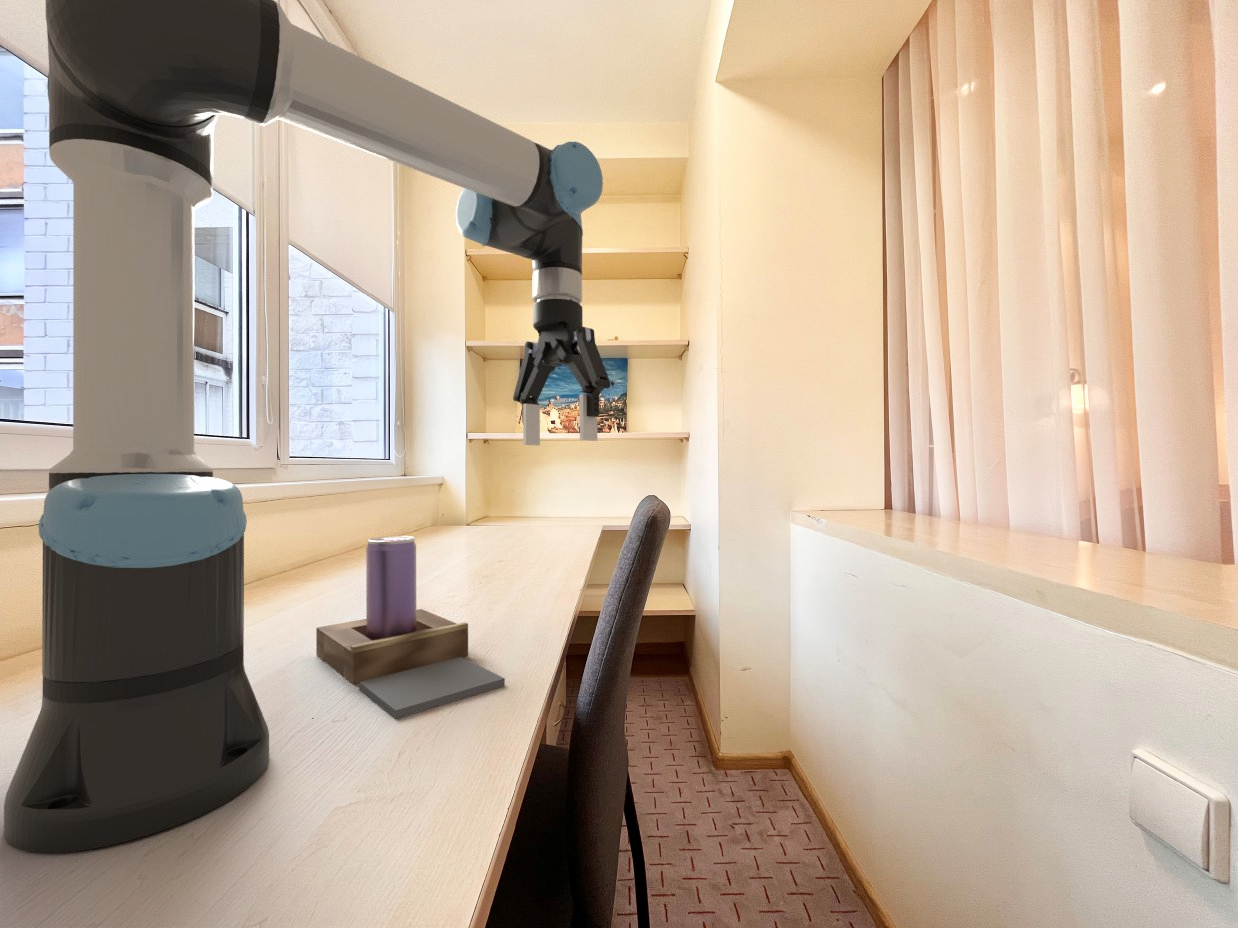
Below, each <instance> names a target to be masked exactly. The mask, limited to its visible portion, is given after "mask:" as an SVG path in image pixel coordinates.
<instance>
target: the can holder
mask: <svg viewBox="0 0 1238 928" xmlns="http://www.w3.org/2000/svg"><path fill="white" fill-rule="evenodd" d="M315 628H316V629H315V630H316V632H315V633H316V636H315V637H316V639H315V640H316V643H315V645H316V656H317V657H319V658H320V659H321V660H322V661H324V662H325V663H326V665H329V666H330V667H331V668H332V669H333V670H334V671H336V672H337V673H338V674H339V675H341V676H342V677H344V678H345V679H346V680H347V681H348V682H349V683H351V684H352V685H357V684H359V682H362V681H366V680H370V679H374V678H378V677H382V676H386V675H390V674H394V673H398V672H402V671H406V670H410V669H414V668H418V667H422V666H426V665H430V664H434V663H438V662H442V661H446V660H450V659H454V658H458V657H463V658H464V657H468V656H469V623H468V622H461V623H460V622H459V623H456V622H454V621H451V620H449V619H446V618H444V617H442V616H439V615H437V614H434V613H432V612H429V611H427V610H425V609H422V608H419V609H416V632H412V633H407V634H402V635H397V636H392V637H387V638H382V639H377V640H373V641H372V640H370V639H369V638H367V627H366V618H363V619H358V620H357V619H356V620H353V621H345V622H340V623H336V624H329V625H324V626H319V627H315Z"/></svg>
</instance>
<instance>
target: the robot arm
mask: <svg viewBox="0 0 1238 928" xmlns="http://www.w3.org/2000/svg"><path fill="white" fill-rule="evenodd" d="M45 21H46V31H47V32H46V35H47V36H46V37H47V50H48V53H47V55H48V75H47V83H46V85H47V87H46V88H47V99H48V124H49V125H48V133H49V134H48V138H49V139H48V148H49V149H48V150H49V151H48V152H49V158H50V161H51V162H52V163H53V164H54V165H55V167H57V168H58V169H59V170H60V171H61V172H62V174H64V175H65V176H66V177H67V178H68V179H70V181H71V182H72V183H73V185H72V186H73V191H72V192H73V195H72V196H73V206H72V207H73V208H72V209H73V211H72V213H73V216H72V219H73V220H72V221H73V224H72V225H73V226H72V227H73V237H72V238H73V244H72V245H73V248H72V249H73V255H72V256H73V257H72V263H73V271H72V273H73V275H72V276H73V278H72V279H73V281H72V282H73V283H72V286H73V288H72V289H73V290H72V293H73V297H72V300H73V301H72V302H73V307H72V308H73V311H72V312H73V313H72V314H73V316H72V317H73V319H72V320H73V323H72V331H73V332H72V333H73V335H72V342H73V347H72V348H73V349H72V351H73V352H72V354H73V358H72V359H73V360H72V361H73V363H72V365H73V366H72V369H73V370H72V375H73V376H72V380H73V381H72V386H73V387H72V388H73V389H72V395H73V396H72V397H73V399H72V409H73V410H72V411H73V412H72V419H73V420H72V437H73V438H72V450H71V451H70V453H69V454H68V455H67V456H65V457H64V458H63V459H60V460H59V461H58V462H57V463H56V464H54V465H53V466H51V467H50V468H48V492H47V494H46V496H45V498H44V501H43V511H42V514H41V516H40V518H39V521H38V525H37V527H38V536H39V538H40V539H41V540H42V627H41V628H42V631H41V632H42V639H41V640H42V645H41V647H42V651H41V652H42V654H41V655H42V659H41V660H42V664H41V665H42V669H41V671H42V673H41V674H42V697H41V698H42V702H41V709H40V712H39V713H38V717H37V719H36V721H35V723H34V726H33V728H32V730H31V732H30V735H29V738H28V740H27V743H26V745H25V747H24V750H23V752H22V755H21V756H20V757H21V758H20V760H19V762H18V765H17V767H16V769H15V772H14V774H13V776H12V779H11V782H10V784H9V786H8V789H7V791H6V793H5V798H4V802H3V803H4V804H3V806H4V807H3V815H4V816H3V834H4V839H5V840H6V841H7V842H8V843H9V844H10V845H11V846H14V847H15V848H18V849H21V850H24V851H29V852H35V853H37V852H38V853H64V852H66V853H67V852H77V851H85V850H91V849H92V850H93V849H96V848H102V847H107V846H108V847H109V846H112V845H116V844H121V843H125V842H128V841H132V840H136V839H140V838H143V837H146V836H150V835H152V834H156V833H159V832H162V831H165V830H167V829H170V828H173V827H175V826H178V825H180V824H183V823H185V822H188V821H191V820H192V819H195V818H197V817H199V816H201V815H204V814H206V813H207V812H210V811H213V810H214V809H216V808H218V807H219V806H221V805H223V804H224V803H227V802H228V801H230V800H232V799H233V798H234V797H236V796H238V795H239V794H241V793H242V792H244V791H245V790H247V789H248V788H249V787H250V786H251V785H252V784H254V783H255V782H256V781H257V780H258V779H259V778H260V777H261V776H262V774H263V773H264V771H265V770H266V769H267V767H268V765H269V763H270V732H269V727H268V725H267V724H268V723H267V722H266V720H265V717H264V715H263V712H262V709H261V706H260V705H259V703H258V700H257V697H256V695H255V692H254V690H253V687H252V685H251V683H250V679H249V678H248V675H247V673H246V669H245V662H244V661H245V660H244V656H245V655H244V654H245V653H244V647H245V646H244V640H245V639H244V636H245V633H244V632H245V629H244V628H245V624H244V623H245V614H244V613H245V609H244V608H245V607H244V606H245V585H244V584H245V580H244V579H245V532H246V529H247V522H248V521H247V515H246V512H245V511H244V501H243V499H244V498H243V494H242V492H241V490H239V488H238V487H237V486H236V485H235V484H234V483H232V482H229V481H228V480H225V479H221V478H218V477H214V468H213V467H212V466H211V465H209V464H208V463H207V462H206V461H204V460H203V459H202V458H201V457H200V456H199V455H198V454H197V452H196V451H195V210H197V209H199V208H200V207H202V206H204V205H206V204H207V203H209V202H210V201H211V200H213V195H214V134H215V132H214V131H215V125H216V124H217V120H218V117H219V115H224V116H225V115H226V116H232V117H236V118H240V119H243V120H246V121H248V122H251V123H254V124H258V125H260V126H263V127H265V126H266V125H269V124H271V123H273V122H275V121H277V120H281V121H284V122H286V123H288V124H292V125H294V126H296V127H299V128H302V129H305V130H308V131H310V132H313V133H316V134H318V135H321V136H323V137H327V138H329V139H331V140H334V141H337V142H339V143H342V144H345V145H348V146H350V147H353V148H356V149H359V150H361V151H364V152H367V153H369V154H372V155H375V156H377V157H380V158H381V159H385V160H388V161H391V162H393V163H395V164H398V165H401V166H404V167H407V168H408V169H409V168H410V169H413V170H415V171H418V172H420V173H423V174H425V175H429V176H431V177H434V178H436V179H439V180H441V181H445V182H447V183H450V184H453V185H454V186H457V187H460V188H462V190H461V193H460V195H459V197H458V200H457V205H456V210H455V219H456V221H455V222H456V226H457V229H458V231H459V233H460V234H461V236H462V237H463V238H465V239H467V240H469V241H473V242H475V243H478V244H480V245H481V246H483V247H489V248H493V249H496V250H499V251H502V252H506V253H508V254H513V255H516V256H520V257H522V258H524V259H525V258H526V259H529V260H531V261H532V263H531V264H532V301H533V302H534V304H533V305H532V327H533V329H534V330H535V331H537V333H538V339H537V341H536V342H535V341H534V342H533V341H526V342H525V343H524V353H523V355H524V356H523V359H522V364H521V367H520V370H519V374H518V378H517V381H516V385H515V389H514V391H513V396H512V399H513V401H514V402H518V403H519V404H520V405H521V406H522V407H521V408H522V409H521V417H522V419H521V421H522V427H523V428H522V433H523V435H522V440H523V441H522V442H523V444H522V445H523V446H540V445H541V434H540V433H541V432H540V431H541V430H540V429H541V420H540V413H541V411H540V409H541V406H540V403H539V402H538V400H539V398H540V395H541V394H542V392H543V389H544V387H545V384H546V382H547V380H548V378H549V377H550V375H551V372H553V371H555V369H556V367H557V368H558V367H561V366H563V365H567V368H568V369H569V370H570V372H571V373H572V375H573V376H574V378H575V379H576V381H577V383H578V384H579V386H580V387H581V390H580V393H581V394H580V393H579V440H580V441H588V442H589V441H590V442H591V441H592V442H595V441H596V442H598V418H599V416H600V395H601V393H602V392H603V390H607V389H610V387H611V385H612V384H611V380H610V378H609V375H608V373H607V370H606V367H605V365H604V361H603V360H602V357H601V354H600V352H599V349H598V347H597V344H596V339H595V330H594V329H593V328H589V327H586V326H583V323H584V322H583V306H582V305H581V303H582V302H583V236H584V235H583V234H584V231H583V222H582V213H583V212H584V211H586V210H587V209H590V208H591V207H593V206H595V204H596V203H597V202H599V200H600V198H601V196H602V194H603V193H602V192H603V188H604V187H603V186H604V182H603V179H604V178H603V172H602V169H601V166H600V163H599V161H598V159H597V157H596V155H594V153H593V151H591V150H590V149H589V148H588V147H587V146H586V145H584V144H583V143H581V142H578V141H566V142H565V143H562V144H557V145H556V146H555V147H554V148H552V149H550V148H548V147H546V146H544V145H542V144H539V143H537V142H534V141H533V140H531V139H529V138H526V137H525V136H523V135H521V134H519V133H517V132H514V131H512V130H510V129H508V128H507V127H505V126H503V125H500V124H498V123H497V122H494V121H492V120H490V119H488V118H486V117H484V116H482V115H480V114H478V113H475V112H474V111H472V110H469V109H468V108H465V107H464V106H461V105H459V104H457V103H455V102H453V101H451V100H449V99H447V98H445V97H443V96H441V95H439V94H436V93H435V92H433V91H431V90H428V89H426V88H425V87H422V86H420V85H418V84H417V83H414V82H412V81H410V80H408V79H405V78H404V77H402V76H399V75H397V74H396V73H393V72H391V71H389V70H388V69H385V68H384V67H381V66H379V65H377V64H375V63H373V62H371V61H369V60H366V59H365V58H363V57H360V56H359V55H356V54H355V53H353V52H350V51H348V50H346V49H344V48H342V47H340V46H338V45H337V44H334V43H332V42H331V41H330V42H329V41H328V40H325V39H324V38H322V37H319V36H318V35H316V34H313V33H312V32H309V31H307V30H305V29H304V28H301V27H300V26H297V25H295V24H292V22H291V21H290V19H289V18H288V16H287V15H286V13H285V11H284V9H283V7H282V6H281V5H280V3H279V2H277V1H275V0H45Z"/></svg>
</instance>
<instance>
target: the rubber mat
mask: <svg viewBox="0 0 1238 928" xmlns="http://www.w3.org/2000/svg"><path fill="white" fill-rule="evenodd" d="M505 680H506V679H505V677H503V676H501V675H499V674H497V673H495V672H492V671H491V670H489V669H487V668H485V667H483V666H481V665H479V664H477V663H474V662H473V661H472V660H470V659H466V658H464V657H458V658H454V659H450V660H446V661H442V662H438V663H434V664H430V665H426V666H422V667H418V668H414V669H410V670H406V671H402V672H398V673H394V674H390V675H386V676H382V677H378V678H374V679H370V680H366V681H362V682H359V683H358V684H359V686H358V689H359V691H361V692H362V693H363V694H364V695H365V696H367V697H368V698H369V699H370V700H371V701H373V702H375V703H376V704H377V705H378V706H379V707H380V708H381V709H383V710H384V711H385V712H387V713H388V714H389V715H390V716H392V718H394V719H399V718H404V717H405V716H409V715H413V714H416V713H419V712H423V711H425V710H426V711H427V710H429V709H432V708H436V707H439V706H441V705H445V704H449V703H452V702H455V701H459V700H462V699H465V698H468V697H471V696H474V695H479V694H481V693H484V692H488V691H491V690H495V689H497V688H501V687H504V686H506V685H505Z"/></svg>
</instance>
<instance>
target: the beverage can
mask: <svg viewBox="0 0 1238 928" xmlns="http://www.w3.org/2000/svg"><path fill="white" fill-rule="evenodd" d="M415 540H416V538H415V537H414V536H410V535H395V536H394V535H393V536H392V535H391V536H378V537H371V538H369V539H368V540H367V542H368V543H367V546H366V549H365V550H366V551H365V552H366V554H365V555H366V556H365V557H366V559H365V561H366V563H365V566H366V572H365V575H366V577H365V578H366V582H365V583H366V585H365V587H366V588H365V589H366V591H365V592H366V593H365V595H366V599H365V600H366V604H365V605H366V606H365V607H366V613H365V614H366V618H365V619H366V627H367V638H369V639H370V640H372V641H373V640H377V639H382V638H387V637H392V636H397V635H402V634H407V633H412V632H416V610H417V545H416V542H415Z"/></svg>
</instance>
